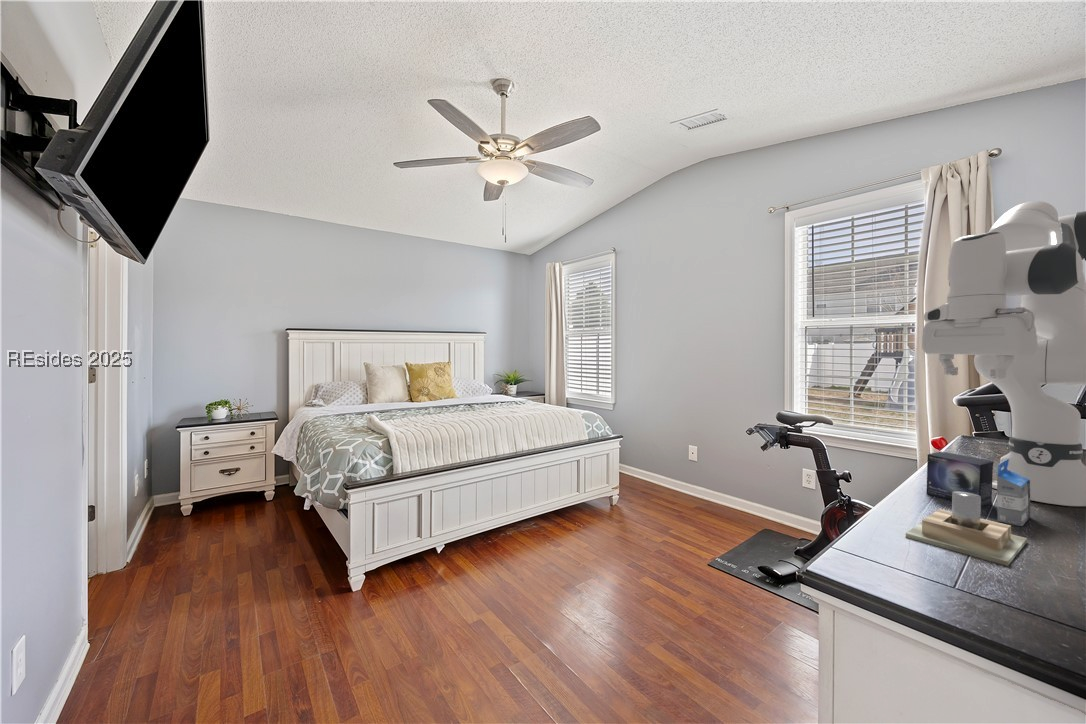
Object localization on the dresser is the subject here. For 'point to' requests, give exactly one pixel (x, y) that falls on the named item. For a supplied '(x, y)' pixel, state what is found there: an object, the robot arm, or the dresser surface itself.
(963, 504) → the peg
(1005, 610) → the dresser surface
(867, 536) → the dresser surface
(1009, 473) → the label tape box
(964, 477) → the small box
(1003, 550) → the hub block
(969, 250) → the robot arm
